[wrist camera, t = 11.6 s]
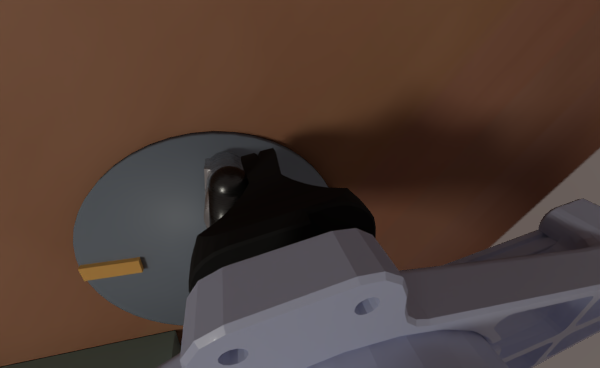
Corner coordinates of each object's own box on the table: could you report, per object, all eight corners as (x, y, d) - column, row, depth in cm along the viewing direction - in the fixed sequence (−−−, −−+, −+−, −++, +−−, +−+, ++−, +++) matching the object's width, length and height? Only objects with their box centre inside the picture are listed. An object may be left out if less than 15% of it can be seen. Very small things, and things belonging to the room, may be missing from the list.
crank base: (352, 128, 15) (358, 133, 14) (321, 296, 23) (325, 305, 23) (19, 135, 11) (5, 143, 10) (123, 337, 19) (119, 349, 18)
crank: (251, 271, 18) (262, 350, 13) (196, 277, 17) (189, 365, 12) (263, 126, 13) (287, 178, 8) (185, 122, 12) (166, 178, 7)
